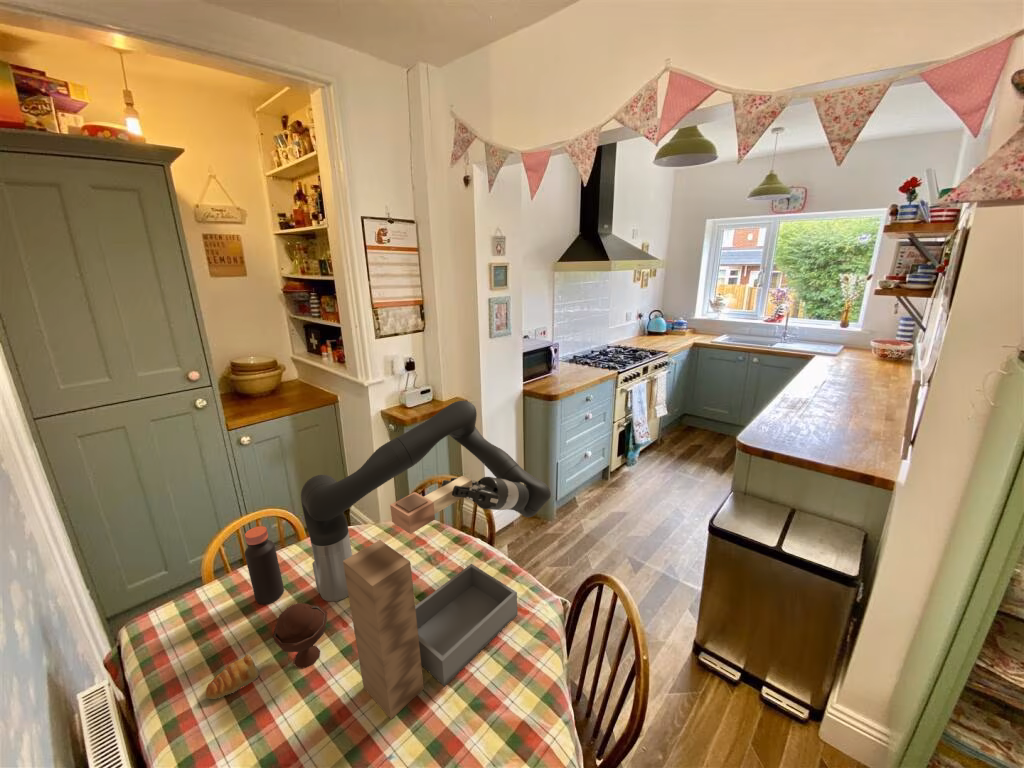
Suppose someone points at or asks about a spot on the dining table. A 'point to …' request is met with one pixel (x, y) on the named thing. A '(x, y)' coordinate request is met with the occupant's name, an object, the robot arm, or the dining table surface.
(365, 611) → the tower
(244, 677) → the pastry
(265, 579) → the bottle
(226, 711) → the dining table surface
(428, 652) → the bin
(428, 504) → the catapult arm
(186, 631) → the dining table surface
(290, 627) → the ice cream bowl
